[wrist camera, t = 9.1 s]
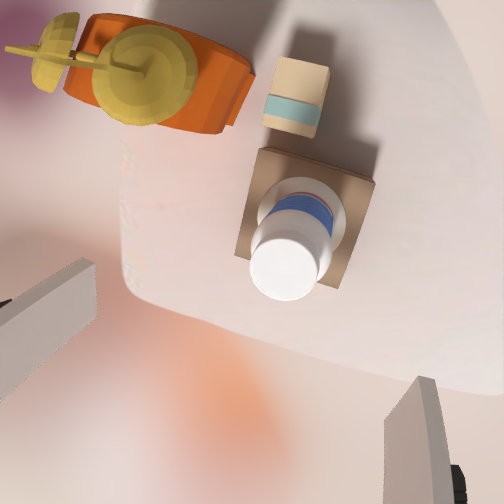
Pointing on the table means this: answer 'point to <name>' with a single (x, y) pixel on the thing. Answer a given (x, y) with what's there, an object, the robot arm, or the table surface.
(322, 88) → the carton
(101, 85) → the alarm clock
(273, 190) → the podium
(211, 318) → the table surface
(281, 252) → the pill bottle
